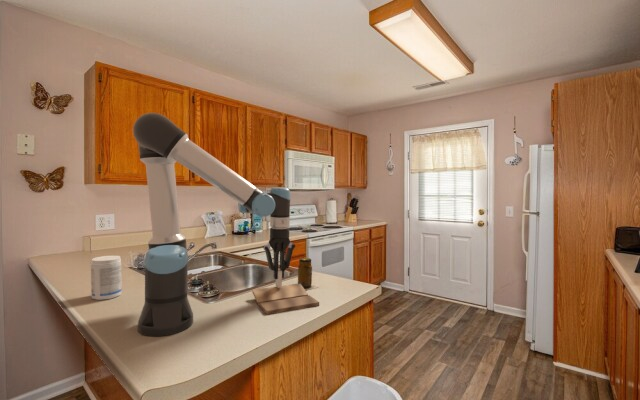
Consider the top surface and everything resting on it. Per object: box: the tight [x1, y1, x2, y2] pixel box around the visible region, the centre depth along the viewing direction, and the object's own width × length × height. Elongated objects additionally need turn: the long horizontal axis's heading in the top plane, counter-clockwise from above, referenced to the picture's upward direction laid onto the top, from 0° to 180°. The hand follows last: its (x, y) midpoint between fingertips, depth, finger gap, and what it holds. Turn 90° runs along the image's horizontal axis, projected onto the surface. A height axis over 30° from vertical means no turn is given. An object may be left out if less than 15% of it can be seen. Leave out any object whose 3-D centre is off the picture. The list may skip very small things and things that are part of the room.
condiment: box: [297, 257, 319, 291], centre depth 137 cm, size 7×8×12 cm
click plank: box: [252, 283, 309, 306], centre depth 122 cm, size 20×8×1 cm, turn 118°
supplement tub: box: [90, 255, 123, 301], centre depth 119 cm, size 10×10×15 cm
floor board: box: [258, 294, 320, 315], centre depth 114 cm, size 20×9×1 cm, turn 118°
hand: (278, 286), depth 125 cm, fingers closed, pressing on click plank
